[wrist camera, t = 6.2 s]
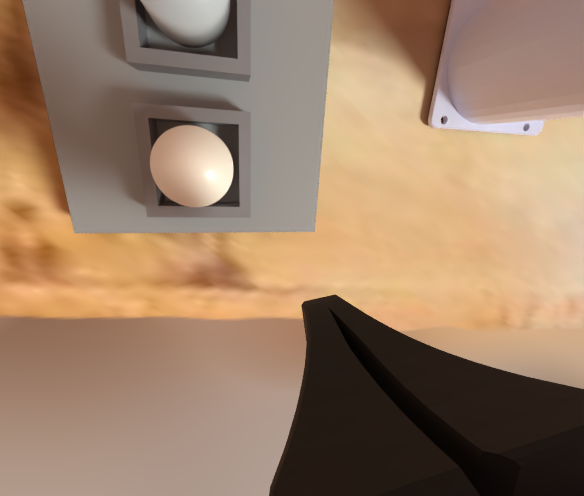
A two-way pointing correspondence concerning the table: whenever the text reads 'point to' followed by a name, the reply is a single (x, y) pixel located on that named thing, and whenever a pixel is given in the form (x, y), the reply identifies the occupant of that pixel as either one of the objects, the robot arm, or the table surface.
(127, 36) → the panel
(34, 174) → the table surface
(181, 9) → the button light grey
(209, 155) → the button ivory
